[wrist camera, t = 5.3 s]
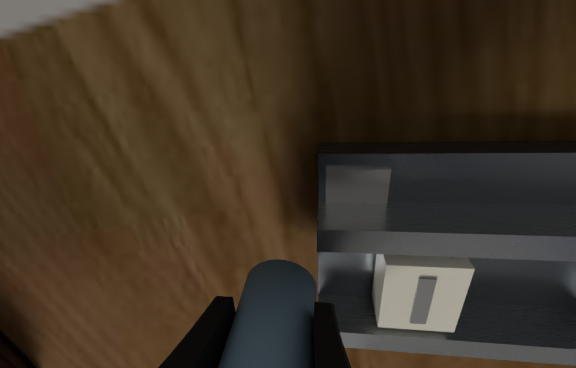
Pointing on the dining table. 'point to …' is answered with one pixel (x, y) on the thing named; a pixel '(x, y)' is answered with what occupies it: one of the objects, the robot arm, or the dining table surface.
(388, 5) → the dining table surface
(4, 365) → the manual coffee grinder
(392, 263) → the plate
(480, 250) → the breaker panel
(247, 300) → the blue rounded cylinder
